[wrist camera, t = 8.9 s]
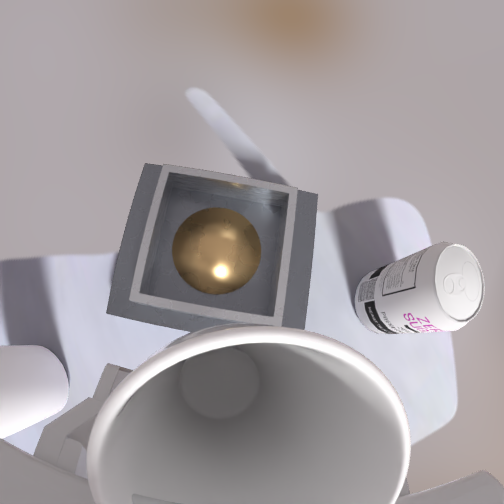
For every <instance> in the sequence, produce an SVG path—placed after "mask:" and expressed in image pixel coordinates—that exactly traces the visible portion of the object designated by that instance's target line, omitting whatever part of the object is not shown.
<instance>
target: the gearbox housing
mask: <svg viewBox="0 0 504 504" xmlns="http://www.w3.org/2000/svg"><path fill="white" fill-rule="evenodd" d="M317 199H318V194H314V193H310V192H306V191H301V190H298V188H296V187H291V186H286V185H282V184H277V183H272V182H267V181H262V180H257V179H252V178H246V177H240V176H235V175H230V174H224V173H218V172H213V171H207V170H200V169H194V168H187V167H181V166H174V165H167V164H164V165H163V166H161V165H154V164H147V163H145V165H144V168H143V171H142V174H141V177H140V181H139V183H138V186H137V190H136V193H135V196H134V199H133V203H132V206H131V209H130V213H129V216H128V220H127V224H126V227H125V231H124V235H123V239H122V243H121V246H120V250H119V255H118V259H117V263H116V267H115V272H114V276H113V281H112V286H111V291H110V296H109V301H108V306H107V312H106V313H107V314H111V315H115V316H119V317H123V318H127V319H132V320H136V321H141V322H145V323H150V324H154V325H159V326H164V327H169V328H174V329H179V330H184V331H189V332H194V331H197V330H200V329H203V328H207V327H212V326H217V325H224V324H236V323H253V324H267V325H274V326H281V327H289V328H296V329H302V330H304V329H305V321H306V313H307V305H308V296H309V288H310V279H311V269H312V259H313V249H314V238H315V226H316V213H317Z"/></svg>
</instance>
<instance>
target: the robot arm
mask: <svg viewBox="0 0 504 504" xmlns="http://www.w3.org/2000/svg"><path fill="white" fill-rule="evenodd" d="M132 371H133V370H131V369H127V368H123V367H120V366H117V365H113V364H109V363H108V364H107V365H106V366H105V368H104V371H103V373H102V376H101V378H100V380H99V383H98V385H97V388H96V390H95V393H94V395H93V398H90V397H88V398H87V399H85V400H84V401H82V402H81V403H79V404H78V405H76V406H75V407H73V408H72V409H70V410H69V411H67V412H66V413H64V414H63V415H61V416H60V417H58V418H57V419H55V420H54V421H52V422H51V423H49V424H48V425H46V426H45V427H44V429H43V432H42V434H41V437H40V439H39V442H38V444H37V447H36V449H35V452H34V455H31V454H29V453H27V452H25V451H23V450H21V449H19V448H17V447H16V446H14V445H12V444H10V443H8V442H7V441H5V440H3V439H1V438H0V504H95V502H94V500H93V497H92V495H91V491H90V487H89V483H88V477H87V469H86V455H87V447H88V441H89V437H90V433H91V430H92V427H93V424H94V422H95V419H96V417H97V415H98V413H99V411H100V409H101V408H102V406H103V404H104V402H105V401H106V399H107V398H108V397H109V395H110V394H111V393H112V391H113V390H114V389H115V388H116V387H117V385H118V384H119V383H120V382H121V381H122V380H123V379H124V378H125V377H126V376H127V375H128V374H130V373H131V372H132ZM132 502H133V504H180V503H175V502H169V501H164V500H160V499H155V498H150V497H146V496H142V495H138V494H133V495H132ZM395 504H504V488H503V485H502V484H501V483H500V482H499V481H498V480H497V479H496V478H495V477H494V476H493V475H492V474H490V473H489V472H488V471H486V470H480V471H478V472H475V473H472V474H470V475H467V476H465V477H463V478H460V479H457V480H454V481H451V482H448V483H446V484H443V485H440V486H436V487H433V488H430V489H427V490H424V491H420V492H417V493H413V494H410V491H409V487H408V483H407V478H405V481H404V484H403V487H402V489H401V492H400V494H399V496H398V498H397V500H396V502H395Z"/></svg>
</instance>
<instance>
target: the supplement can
mask: <svg viewBox="0 0 504 504" xmlns="http://www.w3.org/2000/svg"><path fill="white" fill-rule="evenodd" d="M484 286H485V285H484V278H483V272H482V269H481V267H480V264H479V262H478V260H477V258H476V257H475V256H474V254H473V253H472V252H471V251H470V250H469V249H467V248H466V247H465V246H463V245H458V244H453V243H447V242H441V243H438V244H435V245H432V246H430V247H428V248H426V249H423V250H421V251H419V252H417V253H414V254H412V255H410V256H407V257H405V258H403V259H400V260H398V261H396V262H393V263H391V264H388V265H386V266H384V267H381V268H379V269H376V270H374V271H371V272H369V273H368V274H367V275H366V276H365V277H363V278H362V280H361V281H360V283H359V285H358V287H357V289H356V295H355V308H356V313H357V315H358V317H359V319H360V322H361V323H362V324H363V325H364V326H365V327H366V328H367V329H368V330H369V331H372V332H374V333H376V334H403V333H425V332H441V331H455V330H458V329H459V328H461V327H463V326H464V325H466V324H467V323H468V322H469V321H470V320H471V319H473V318H475V316H476V315H477V313H478V312H479V310H480V308H481V305H482V302H483V299H484Z"/></svg>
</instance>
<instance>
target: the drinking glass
mask: <svg viewBox="0 0 504 504" xmlns="http://www.w3.org/2000/svg"><path fill="white" fill-rule="evenodd" d="M410 452H411V437H410V427H409V422H408V418H407V414H406V411H405V408H404V405H403V403H402V401H401V399H400V397H399V395H398V393H397V391H396V389H395V388H394V386H393V385H392V383H391V382H390V380H389V379H388V378H387V377H386V376H385V374H384V373H383V372H382V371H381V370H380V369H379V368H378V367H377V366H376V365H375V364H374V363H373V362H372V361H370V360H369V359H368V358H366V357H365V356H364V355H362V354H361V353H360V352H358V351H356V350H354V349H353V348H351V347H349V346H348V345H346V344H344V343H341V342H339V341H337V340H335V339H333V338H330V337H327V336H324V335H321V334H318V333H315V332H310V331H306V330H302V329H296V328H289V327H281V326H274V325H267V324H253V323H236V324H224V325H217V326H212V327H207V328H203V329H200V330H197V331H194V332H191V333H189V334H186V335H184V336H181V337H179V338H177V339H176V340H174V341H172V342H170V343H168V344H166V345H165V346H163V347H162V348H160V349H159V350H157V351H156V352H154V353H153V354H152V355H151V356H149V357H148V358H147V359H146V360H145V361H143V362H142V363H141V364H140V365H139V366H137V367H136V368H135V369H134V370H133V371H132V372H131V373H130V374H128V375H127V376H126V377H125V378H124V379H123V380H122V381H121V382H120V383H119V384H118V385H117V387H116V388H115V389H114V390H113V391H112V393H111V394H110V395H109V397H108V398H107V399H106V401H105V402H104V404H103V406H102V408H101V409H100V411H99V413H98V415H97V417H96V419H95V422H94V424H93V427H92V430H91V433H90V437H89V441H88V447H87V455H86V469H87V477H88V483H89V487H90V491H91V495H92V497H93V500H94V502H95V504H133V502H132V495H133V494H138V495H142V496H146V497H150V498H155V499H160V500H164V501H169V502H175V503H180V504H395V502H396V500H397V498H398V496H399V494H400V492H401V489H402V487H403V484H404V481H405V478H406V475H407V471H408V466H409V461H410Z"/></svg>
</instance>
